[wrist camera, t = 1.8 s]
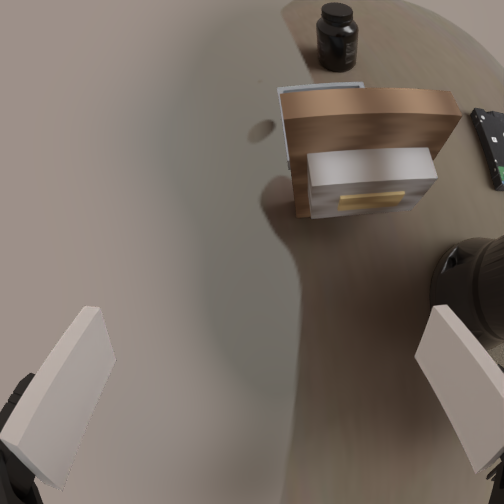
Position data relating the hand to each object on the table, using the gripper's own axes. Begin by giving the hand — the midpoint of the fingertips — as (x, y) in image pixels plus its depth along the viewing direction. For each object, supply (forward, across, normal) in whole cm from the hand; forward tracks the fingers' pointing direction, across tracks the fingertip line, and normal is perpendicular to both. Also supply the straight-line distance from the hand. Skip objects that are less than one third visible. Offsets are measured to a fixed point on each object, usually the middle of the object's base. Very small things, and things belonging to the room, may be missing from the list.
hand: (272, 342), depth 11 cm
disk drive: (+31, +42, +9) cm, 53 cm away
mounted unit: (+28, +12, -3) cm, 31 cm away
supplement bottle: (+45, +14, +21) cm, 52 cm away
